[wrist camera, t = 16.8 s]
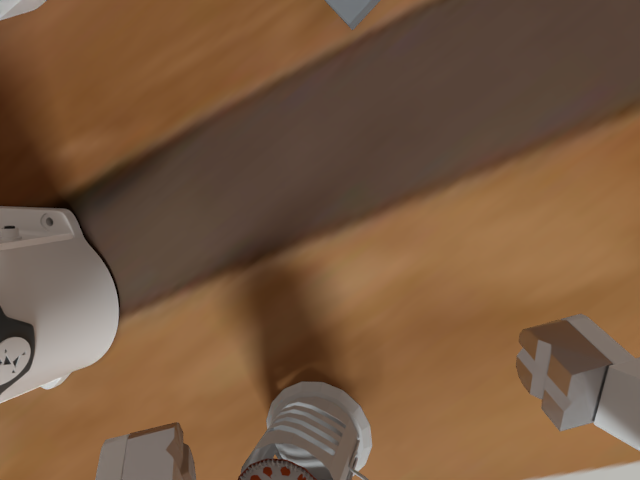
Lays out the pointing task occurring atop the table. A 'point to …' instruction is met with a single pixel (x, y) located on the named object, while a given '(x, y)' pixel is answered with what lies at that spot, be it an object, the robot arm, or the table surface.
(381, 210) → the table surface
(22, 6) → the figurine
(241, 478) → the french press
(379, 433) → the table surface
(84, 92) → the table surface
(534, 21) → the table surface
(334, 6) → the jig
